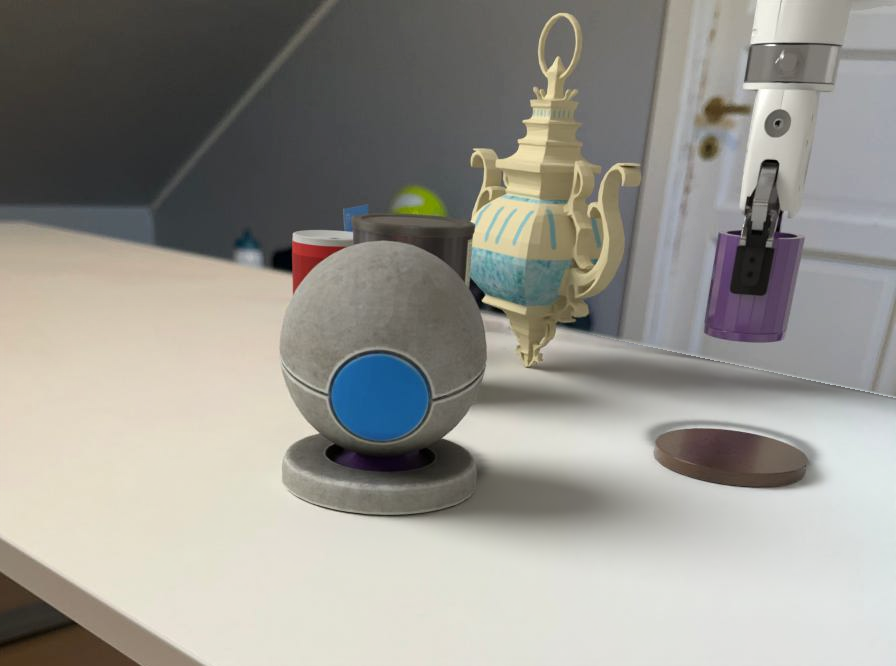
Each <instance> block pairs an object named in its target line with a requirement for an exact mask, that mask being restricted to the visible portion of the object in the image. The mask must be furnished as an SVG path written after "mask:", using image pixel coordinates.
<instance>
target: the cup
mask: <svg viewBox="0 0 896 666" xmlns="http://www.w3.org/2000/svg"><path fill="white" fill-rule="evenodd" d="M717 234H718V235H717V241H716V246H715V252H714V261H713V266H712V272H711V278H710V285H709V291H708V297H707V303H706V310H705V314H704V315H705V316H704V322H703V323H704V325H703V333H704V334H705V335H707V336H709V337H711V338H715V339H719V340H725V341H729V342H730V341H731V342H738V343H739V342H740V343H752V344H753V343H754V344H756V343H757V344H762V343H763V344H764V343H776V342H781V341H783V340H785V338H786V335H787V329H788V327H789V320H790V316H791V311H792V306H793V302H794V296H795V291H796V287H797V286H796V285H797V282H798V275H799V271H800V266H801V261H802V256H803V250H804V247H805V241H806V236H805V235H803V234H800V233H796V232H787V231H781V232H780V231H775V235H774V240H773V245H772V248H775V251H774V256H773V262H772V267H771V272H770V278H769V283H768V288H767V292H766V294H765V295H763V296H757V295H745V294H733V293H731V292H730V286H731V280H732V274H733V268H734V262H735V256H736V250H737V246H740V239H741V234H742V229H724V230H720V231H718V233H717Z"/></svg>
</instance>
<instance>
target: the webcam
mask: <svg viewBox="0 0 896 666" xmlns="http://www.w3.org/2000/svg"><path fill="white" fill-rule="evenodd" d="M478 305H479V304H478V303H477V301H476V298H475V295H473V293H472V291H471V289H470V287H469V288H468V287H467V285H466V284H465V282H464V281H463V280H462V279H461V277H460V276H459V275H458V274H457V273H456V272H455V271H454V270H453V269H452V268H451V267H450V266H449V265H448V264H446V263H445V262H444V261H442V260H441V259H439V258H438V257H437V256H435V255H433V254H431V253H429V252H427V251H425V250H423V249H421V248H418V247H416V246H414V245H410V244H405V243H401V242H393V241H371V242H364V243H360V244H356V245H352V246H349V247H346V248H344V249H342V250H340V251H337V252H335V253H333V254H332V255H330V256H329V257H327V258H326V259H324V260H323V261H321V262H320V263H319V264H318V265H316V266H315V267H314V268H313V269H312V270H311V271H310V272H309V273H308V275H307V276H306V277H305V278H304V279H303V281H302V282H301V283H300V285H299V286H298V288H297V289H296V291H295V293H294V295H293V294H292V297H291V299H290V300H289V302H288V305H287V307H286V310H285V313H284V316H283V321H282V327H281V331H280V337H279V347H278V348H279V350H278V351H279V363H280V368H281V372H282V376H283V379H284V383H285V386H286V389H287V391H288V393H289V395H290V397H291V399H292V401H293V403H294V405H295V406H296V408H297V410H298V411H299V412H300V414H301V415H302V417H303V418H304V419H305V421H306V422H307V423H308V424H309V425H310V426H312V428H314V430H316V431H317V432H318V433H315V434H312V435H307V436H305V437H304V438H301V439H299V440H297V441H295V442H293V443H292V444H291V445H289V446H288V448H287V449H286V450H285V452H284V455H283V457H282V463H281V464H282V465H281V480H282V484H283V485H284V487H285V488H286V489H287V490H288V492H290V493H291V494H292V495H294V496H295V497H297V498H300V499H301V500H304V501H306V502H308V503H311V504H313V505H317V506H320V507H324V508H328V509H331V510H335V511H342V512H346V513H355V514H356V513H357V514H364V515H383V516H389V515H391V516H393V515H413V514H423V513H429V512H434V511H439V510H444V509H447V508H449V507H453V506H456V505H459V504H460V503H463V502H464V501H466V500H467V499H469V498H470V497H471V496H472V495H473V494H474V493H475V491H476V490H477V489H476V488H477V481H478V467H477V461H476V459H475V457H474V456H473V454H472V453H471V452H470V451H469V450H468V449H467V448H465V447H463V446H461V445H460V444H458V443H456V442H454V441H451V440H449V439H446V438H445V437H446V436H447V435H448V434H449V433H451V431H453V430H454V429H455V428H456V427H457V426H458V425H459V423H460V422H461V421H463V419H464V418H465V417H466V416H467V414H468V412H469V411H470V409H471V408H472V407H473V404H474V403H475V401H476V398H477V396H479V395H478V394H479V392H480V390H481V386H482V384H483V380H484V375H485V372H486V368H487V360H488V351H487V349H488V348H487V347H488V345H487V337H486V330H485V324H484V323H485V322H484V319H483V317H482V314H481V311H480V307H479V306H478Z"/></svg>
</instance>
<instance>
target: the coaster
mask: <svg viewBox="0 0 896 666" xmlns="http://www.w3.org/2000/svg"><path fill="white" fill-rule="evenodd" d="M653 456H654V459H655V461H656V462H658V463H659V464H660V465H662V466H664V467H665V468H667V469H669V470H671V471H673V472H675V473H678V474H680V475H682V476H683V475H684V476H685V477H689V478H692V479H697V480H701V481H705V482H710V483H715V484H721V485H728V486H737V487H749V488H771V487H772V488H773V487H782V486H786V485H787V486H788V485H792V484H795V483H797V482H799V481H801V480H803V478H804V477H805V476H806V473H807V470H808V465H809V458H808V456H807V455H806V453H805V452H803V451H802V450H800V449H799V448H797V447H795V446H794V445H791V444H789V443H787V442H784V441H781V440H778V439H775V438H773V437H769V436H765V435H761V434H756V433H751V432H746V431H741V430H732V429H725V428H711V427H710V428H709V427H708V428H707V427H693V428H690V427H689V428H679V429H674V430H670V431H669V430H668V431H667V432H664V433H661V434H659V436H657V437H656V439H655V443H654V448H653Z"/></svg>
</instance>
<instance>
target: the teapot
mask: <svg viewBox="0 0 896 666" xmlns="http://www.w3.org/2000/svg"><path fill="white" fill-rule="evenodd" d="M563 17H564V18H566V19H567V20H568V21H569V22H570V24H571V26H572V27H573V30H574V35H575V48H574V52H573V57H572V59H571V62H570V64H569V66H568V67H567V68H565V66H564V64H563V61H562V58H561V56H556V58H555V59H554V61H553V63H552V65H550V67H549V68H548V66H547V64H546V63H547V62H546V58H545V47H546V41H547V37H548V35H549V32H550V31H551V28H552V27H553V26H554V25H555V23H556V22H557V21H559V20H560V19H561V18H563ZM582 50H583V31H582V28H581V25H580V23H579V21H578V19H577V18H576V16H574V15H573V14H570V13H568V12H559V13H557V14H555V15H553V16H551V17H550V19H548V21H547V22H546V23H545V25H544V27H543V29H542V31H541V34H540V37H539V41H538V48H537V55H538V64H539V67H540V70H541V72H542V74H543V75H544V77H546V78H547V90H546V91H545V89H544V88H540V89H539V87H538V86H533V89H532V91H533V92H534V94H535V95H536V99H530V100H529V102H530V107H531V108H532V115H531V117H530V118H528V119H523V120H522V124H524V125H525V128H526V135H525V137H523V138H519V139H517V144H518V149H517V150H516V152H515V153H513V154H512V155H510V156H508V157H505V158H499V156H498V155H497V153H496V151H495V150H493V148H484V147H483V148H482V147H481V148H476V147H475V148H473V149H472V150H473V151H474V152H473V153H472V154H471V157H470V166H471V168H478V169H481V168H483V181H482V184H481V188H480V191H479V193H478V196H477V198H476V201H475V204H474V207H473V209H472V212H471V220H469V221H470V222H472V223H474V224H475V232H474V234H473V241H472V255H471V268H470V280H472V281H473V283H475V284H476V286H477V287H478V288H479V289H480V290H481V291H482V292H483V294H484V297H483V298H482V299H481V302H482V303H483V304H486V305H488V306H491V307H493V308H497V309H500V310H502V311H503V313H505V315H506V317H507V318H508V320H509V327H510V328H511V331H512V333H513V335H514V337H515V339H516V340H517V342H518V343H519V344H518V345H516V348H515V351H514V354H515V355H517V356H518V357H519V359H520V361H521V363H522V364H523V366H524V367H525V368H530V367H533V366H535V365H536V364H537V363H542V362H543V361H544V359H543V357H544V353H542V352H541V351H540V350H541V349H542V348H544V347H546V346H547V345H548V344H549V343H550V342H551V341H552V340H553V339H554V338H555V337H556V333H557V323H558V322H559V323H562V324H563V323H566V324H567V323H575V322H577V320H576V318H583V317H587V316H588V315H590V309H589V305H588V304H587V302H585V301H586V300H588V299H589V298H592V297H594V296H595V297H596V296H597V295H599V294H600V293H602V292H603V291H604V290H605V289H607V288H608V286H609V285H610V283H611V282H612V281H613V280H614V278H615V276H616V274H617V272H618V269H619V267H620V265H621V263H622V261H623V257H624V256H623V255H624V253H625V245H626V236H625V231H624V230H625V229H624V224H623V220H622V217H621V216H622V215H621V212H620V207H619V206H620V205H619V193H620V192H619V191H620V186H621V187H628V188H630V187H631V188H632V187H640V186H641V182H642V171H641V170H640V168H638V167H641V166H642V165H641V164H640V163H635V162H617V163H615V164H614V165H612V166H611V167H610V168H609V169H608V171H606V173H605V174H604V176H603V178H602V180H601V182H600V185H599V190H598V197H597V201H594V202H590V203H589V204H588V203H587V201H586V199H588V198H589V197H590V196H591V195H592V193H593V191H594V189H595V183H596V181H595V176H596V175H597V176H598V175H599V174H601V173H602V166H601V165H597V164H593V163H591V162H589V161H587V160H586V158H584V157H583V156H582V152H581V148H582V147H583V146H584V145H583V144H584V142H582V141H579V140H578V139H576V134H577V133H576V132H577V130H578V129H579V128H580V127H581V126H583V123H582V122H579V121H576V120H575V118H574V113H575V110H577V107H578V105H579V104H580V101H576V100H573V99H574V97H575V96H576V95H577V94H578V93H579V89H576V88H575V89H570V88H569V89H567V90H566V91H565V93H564V86H565V82H566V79H567V78H569V77H570V76H571V75H572V73H573V72H574V71H575V69H576V67H577V65H578V63H579V61H580V59H581V53H582ZM502 172H503V173H502ZM502 180H503V184H504V186H505V187H504V186H501V184H502Z"/></svg>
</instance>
